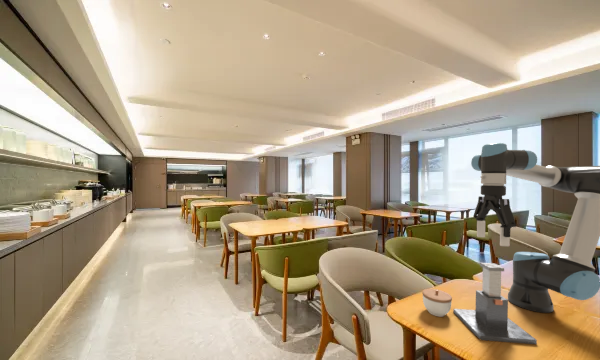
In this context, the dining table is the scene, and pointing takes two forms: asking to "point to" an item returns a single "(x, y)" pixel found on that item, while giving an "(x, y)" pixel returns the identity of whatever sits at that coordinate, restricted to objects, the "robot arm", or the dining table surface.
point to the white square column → (491, 280)
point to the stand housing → (493, 321)
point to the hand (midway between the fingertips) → (491, 241)
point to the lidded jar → (437, 302)
